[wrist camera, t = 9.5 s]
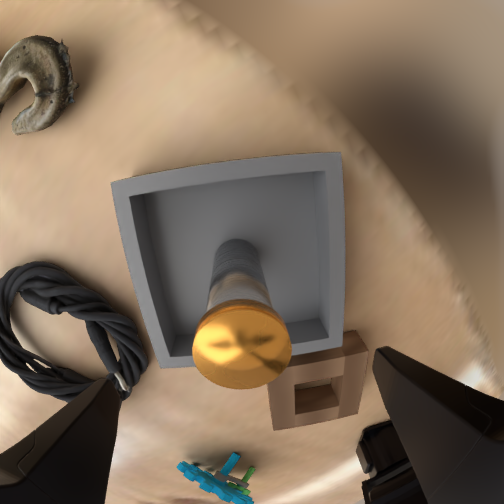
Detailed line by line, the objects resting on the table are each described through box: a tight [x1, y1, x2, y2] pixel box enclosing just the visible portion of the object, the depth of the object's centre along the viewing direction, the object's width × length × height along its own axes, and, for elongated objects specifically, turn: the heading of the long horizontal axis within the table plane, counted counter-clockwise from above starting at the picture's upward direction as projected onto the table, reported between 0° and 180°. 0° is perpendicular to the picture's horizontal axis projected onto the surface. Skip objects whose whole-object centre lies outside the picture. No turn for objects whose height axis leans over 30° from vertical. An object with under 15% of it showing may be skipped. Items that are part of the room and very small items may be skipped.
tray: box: [111, 152, 345, 368], centre depth 19 cm, size 13×13×4 cm
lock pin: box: [192, 239, 292, 389], centre depth 15 cm, size 4×4×10 cm
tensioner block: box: [267, 330, 369, 431], centre depth 23 cm, size 8×8×3 cm
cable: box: [0, 262, 148, 411], centre depth 20 cm, size 17×14×4 cm
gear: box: [177, 453, 255, 504], centre depth 26 cm, size 11×6×10 cm
